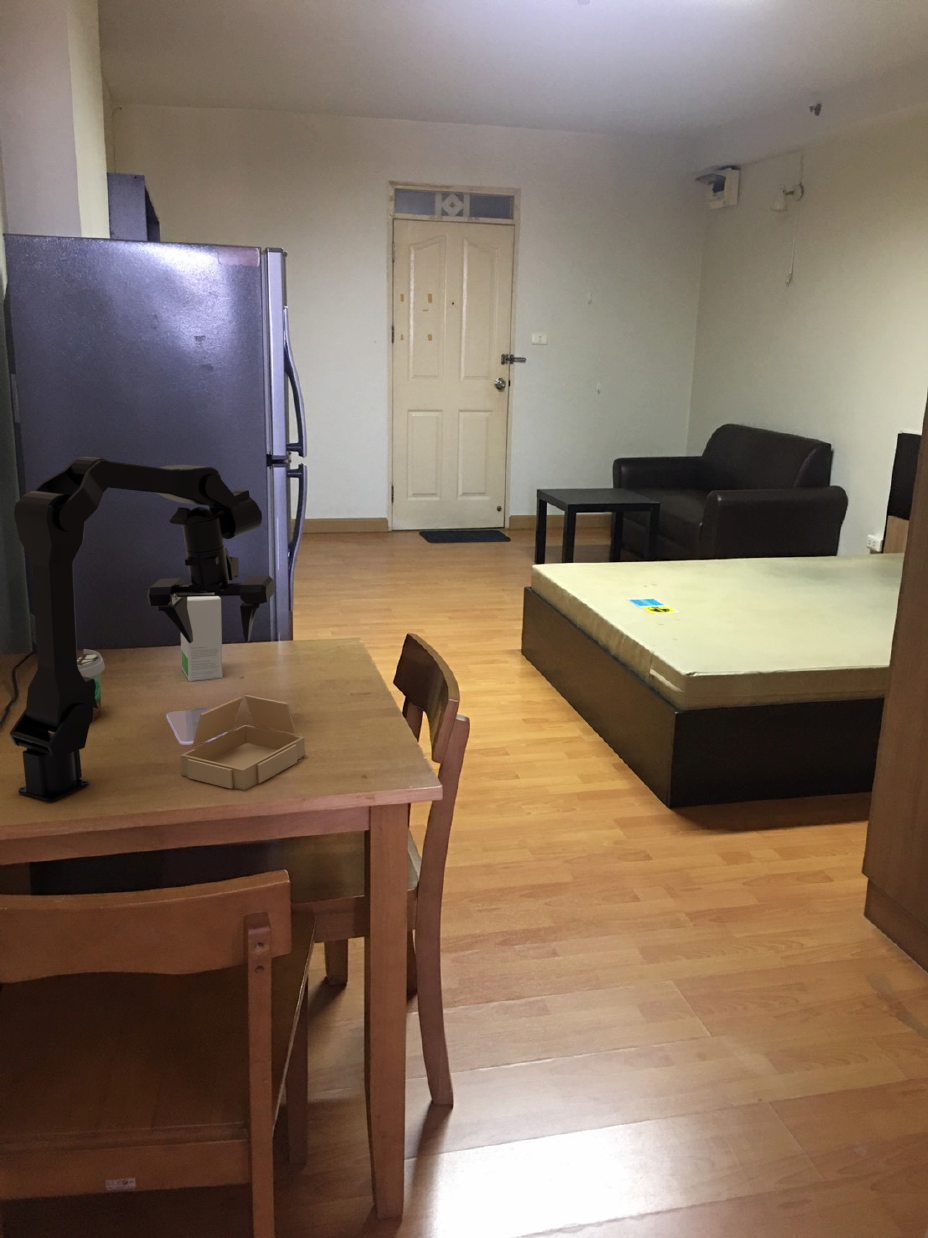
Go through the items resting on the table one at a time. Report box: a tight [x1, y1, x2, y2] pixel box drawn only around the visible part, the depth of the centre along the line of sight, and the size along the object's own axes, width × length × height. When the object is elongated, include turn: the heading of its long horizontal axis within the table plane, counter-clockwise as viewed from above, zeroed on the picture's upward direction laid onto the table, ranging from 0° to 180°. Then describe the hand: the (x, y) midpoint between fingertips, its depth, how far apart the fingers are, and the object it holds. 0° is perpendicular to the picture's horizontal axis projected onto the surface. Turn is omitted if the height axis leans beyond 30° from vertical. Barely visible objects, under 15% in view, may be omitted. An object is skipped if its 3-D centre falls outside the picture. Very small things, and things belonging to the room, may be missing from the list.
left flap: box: [191, 696, 243, 748], centre depth 140 cm, size 9×1×6 cm, turn 153°
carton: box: [180, 724, 306, 792], centre depth 139 cm, size 15×12×3 cm
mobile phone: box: [165, 707, 228, 746], centre depth 155 cm, size 8×1×15 cm
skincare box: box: [180, 596, 224, 682], centre depth 180 cm, size 8×7×16 cm
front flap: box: [244, 694, 297, 735], centre depth 144 cm, size 1×8×6 cm, turn 63°
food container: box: [77, 648, 106, 722], centre depth 156 cm, size 12×6×10 cm, turn 168°
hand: (219, 641), depth 154 cm, fingers open, 9 cm apart
